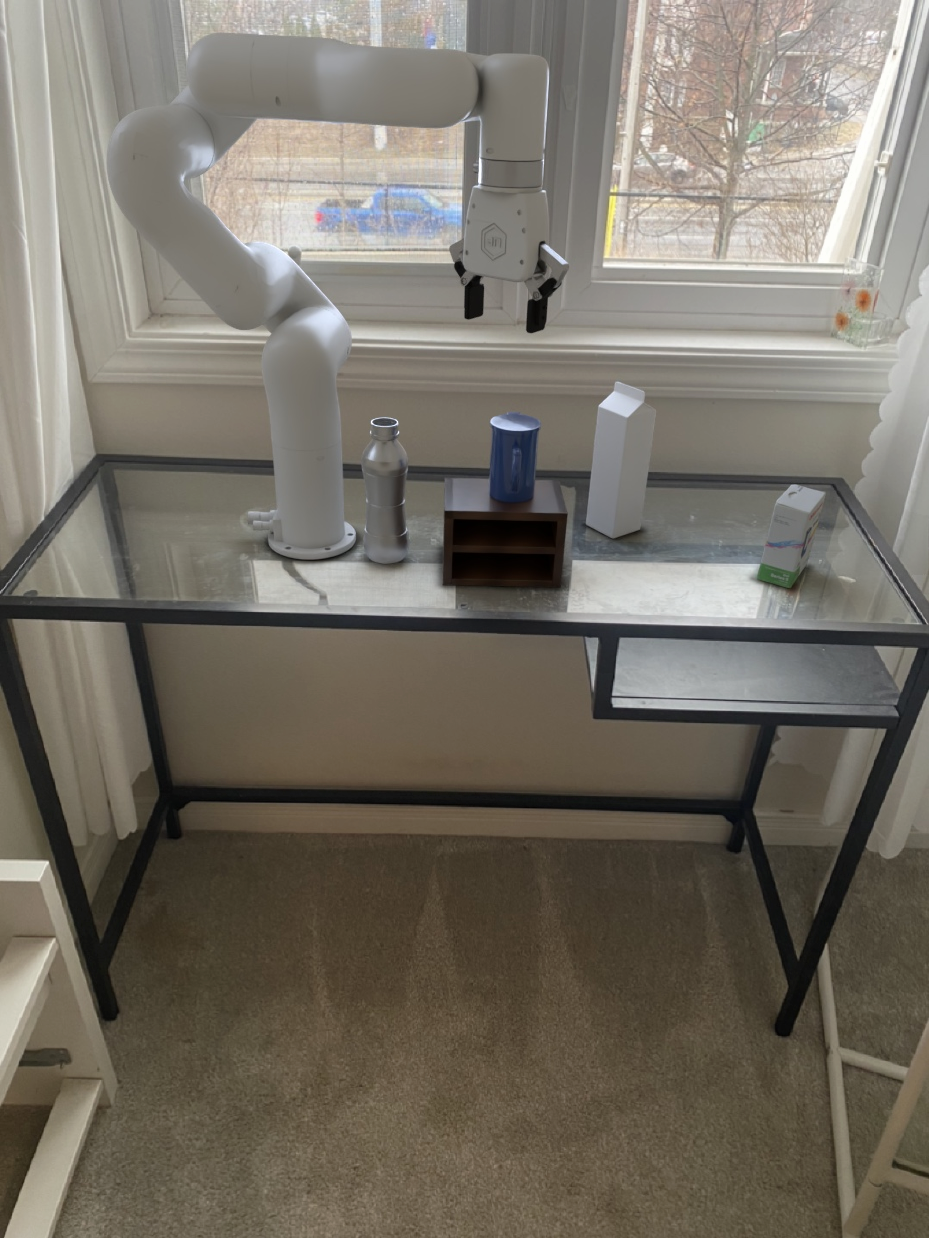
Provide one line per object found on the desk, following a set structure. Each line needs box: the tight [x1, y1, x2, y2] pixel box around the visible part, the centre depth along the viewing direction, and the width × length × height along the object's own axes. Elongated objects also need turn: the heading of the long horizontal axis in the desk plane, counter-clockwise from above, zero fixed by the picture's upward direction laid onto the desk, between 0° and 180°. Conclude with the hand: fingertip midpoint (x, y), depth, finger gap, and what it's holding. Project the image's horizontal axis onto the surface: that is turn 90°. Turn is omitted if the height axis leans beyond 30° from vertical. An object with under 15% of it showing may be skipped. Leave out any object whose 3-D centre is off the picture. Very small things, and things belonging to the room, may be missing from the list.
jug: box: [488, 411, 542, 503], centre depth 126 cm, size 7×10×10 cm, turn 1°
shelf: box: [442, 477, 569, 588], centre depth 132 cm, size 16×11×11 cm
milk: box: [585, 380, 657, 539], centre depth 142 cm, size 6×6×22 cm
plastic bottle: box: [360, 417, 410, 565], centre depth 131 cm, size 6×7×20 cm
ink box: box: [756, 483, 827, 589], centre depth 133 cm, size 9×5×12 cm, turn 148°
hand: (503, 324), depth 121 cm, fingers open, 9 cm apart
